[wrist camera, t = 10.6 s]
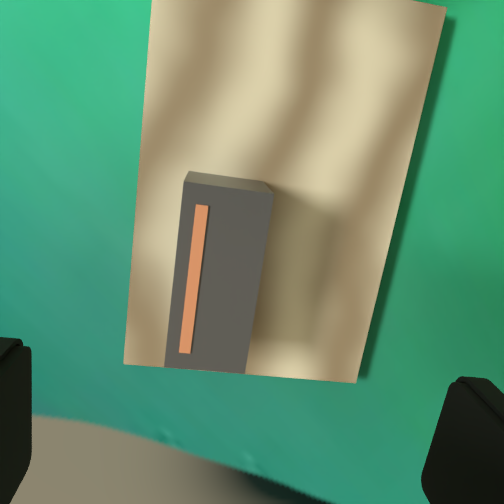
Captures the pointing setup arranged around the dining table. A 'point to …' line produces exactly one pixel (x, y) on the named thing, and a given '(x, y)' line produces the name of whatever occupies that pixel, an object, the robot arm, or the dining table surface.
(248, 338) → the block
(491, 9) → the dining table surface
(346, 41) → the board
